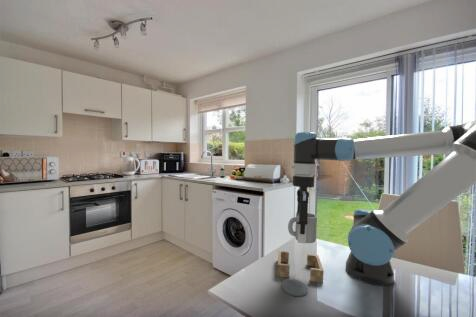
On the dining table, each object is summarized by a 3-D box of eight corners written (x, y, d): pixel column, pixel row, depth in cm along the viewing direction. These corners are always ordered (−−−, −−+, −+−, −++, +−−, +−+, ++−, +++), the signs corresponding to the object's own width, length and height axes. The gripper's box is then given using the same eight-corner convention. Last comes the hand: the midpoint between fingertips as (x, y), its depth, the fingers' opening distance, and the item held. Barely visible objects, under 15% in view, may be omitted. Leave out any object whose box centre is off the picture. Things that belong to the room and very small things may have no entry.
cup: (318, 243, 79) (319, 218, 79) (289, 242, 79) (291, 217, 78) (311, 236, 86) (312, 212, 86) (285, 235, 86) (286, 211, 86)
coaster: (306, 283, 75) (306, 281, 75) (308, 298, 67) (309, 296, 67) (281, 279, 76) (281, 277, 76) (281, 293, 68) (281, 291, 68)
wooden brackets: (317, 265, 87) (318, 255, 87) (322, 282, 76) (323, 270, 76) (278, 260, 90) (278, 250, 90) (277, 275, 79) (277, 264, 78)
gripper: (292, 172, 93) (289, 228, 93) (294, 177, 73) (291, 248, 73) (311, 173, 91) (308, 230, 92) (318, 178, 72) (315, 251, 72)
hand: (300, 238), depth 83 cm, fingers closed on cup, 7 cm apart
